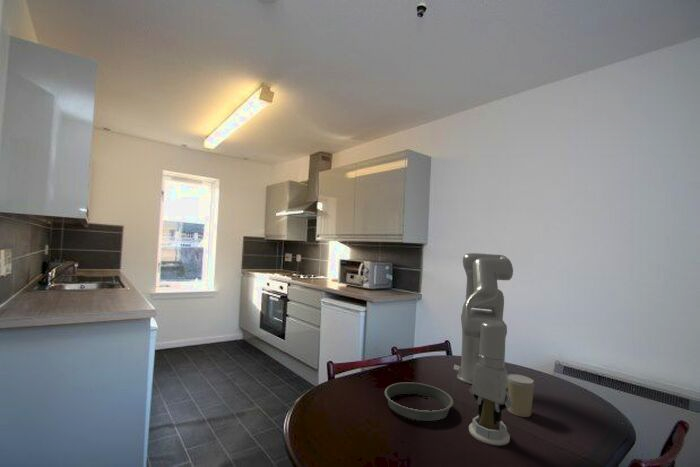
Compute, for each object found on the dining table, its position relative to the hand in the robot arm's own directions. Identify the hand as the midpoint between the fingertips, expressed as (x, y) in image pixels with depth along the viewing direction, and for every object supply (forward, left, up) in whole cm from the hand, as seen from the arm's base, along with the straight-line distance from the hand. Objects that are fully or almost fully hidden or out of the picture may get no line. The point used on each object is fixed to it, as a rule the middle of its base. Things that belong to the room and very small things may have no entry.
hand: (489, 419), depth 106 cm
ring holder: (0, 0, -5) cm, 5 cm away
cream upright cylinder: (0, +25, -5) cm, 25 cm away
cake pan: (-25, -3, -5) cm, 26 cm away
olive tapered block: (0, 0, -2) cm, 2 cm away
